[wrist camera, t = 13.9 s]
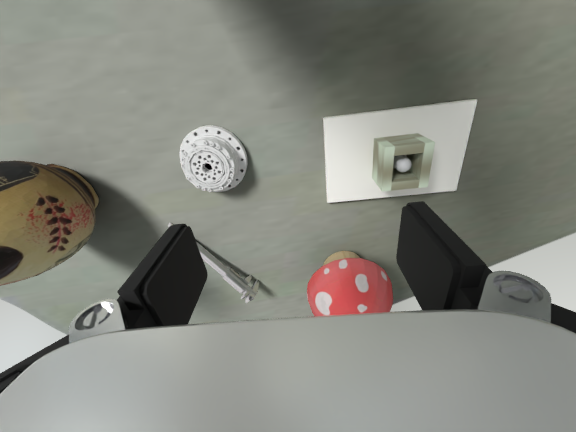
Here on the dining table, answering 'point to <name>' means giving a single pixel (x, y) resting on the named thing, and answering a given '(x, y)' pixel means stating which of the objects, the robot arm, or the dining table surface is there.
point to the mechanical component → (213, 158)
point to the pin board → (394, 123)
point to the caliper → (230, 274)
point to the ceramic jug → (41, 217)
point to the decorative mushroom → (349, 287)
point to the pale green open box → (414, 149)
